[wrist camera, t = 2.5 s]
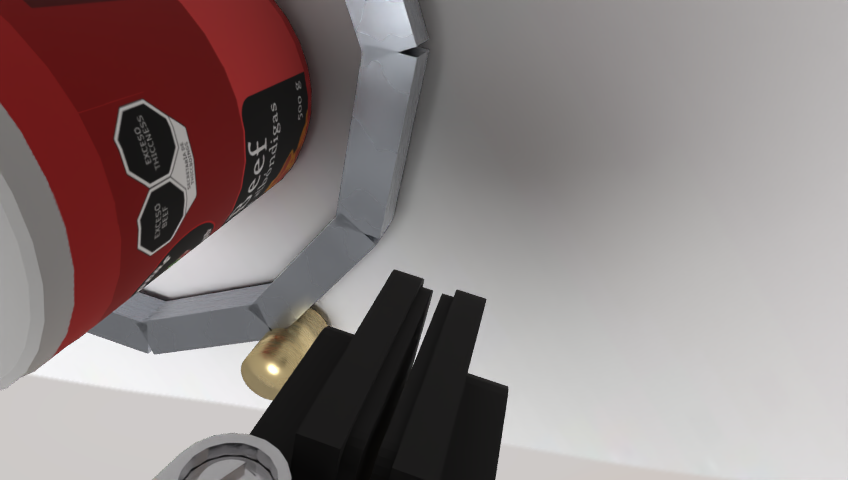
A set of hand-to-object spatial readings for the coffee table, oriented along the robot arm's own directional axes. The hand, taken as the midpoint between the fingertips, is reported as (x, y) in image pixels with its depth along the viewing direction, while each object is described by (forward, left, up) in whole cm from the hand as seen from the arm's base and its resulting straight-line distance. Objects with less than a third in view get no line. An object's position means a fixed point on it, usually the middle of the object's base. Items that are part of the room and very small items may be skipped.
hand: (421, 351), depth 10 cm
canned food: (-1, -10, -9) cm, 13 cm away
